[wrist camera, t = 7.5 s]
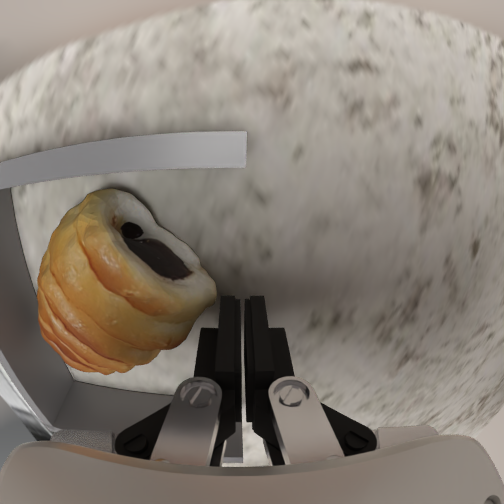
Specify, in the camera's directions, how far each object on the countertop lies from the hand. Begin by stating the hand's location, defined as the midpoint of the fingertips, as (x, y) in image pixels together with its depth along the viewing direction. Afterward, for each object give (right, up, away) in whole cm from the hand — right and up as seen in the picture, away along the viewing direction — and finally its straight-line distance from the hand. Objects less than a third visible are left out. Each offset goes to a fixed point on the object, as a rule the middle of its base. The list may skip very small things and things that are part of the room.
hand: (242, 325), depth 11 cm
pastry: (-5, +2, +1) cm, 6 cm away
